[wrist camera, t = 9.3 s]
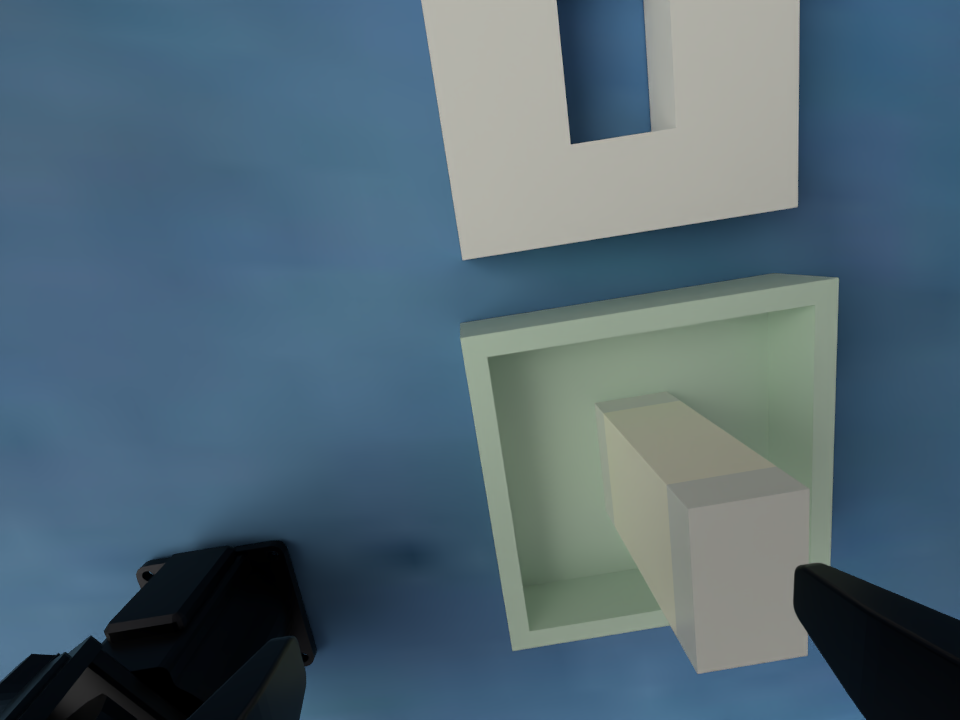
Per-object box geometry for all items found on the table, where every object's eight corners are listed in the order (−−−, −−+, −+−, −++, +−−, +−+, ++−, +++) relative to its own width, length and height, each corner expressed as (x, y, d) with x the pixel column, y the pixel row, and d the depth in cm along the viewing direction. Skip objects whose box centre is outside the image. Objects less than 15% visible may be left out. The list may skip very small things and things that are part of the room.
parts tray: (775, 548, 22) (829, 599, 19) (504, 592, 22) (512, 650, 19) (774, 273, 19) (838, 277, 16) (460, 323, 19) (460, 338, 16)
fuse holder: (761, 211, 18) (797, 206, 16) (462, 259, 18) (462, 260, 16) (758, -160, 15) (801, -219, 14) (404, -105, 15) (396, -156, 13)
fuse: (673, 499, 20) (807, 655, 12) (605, 510, 20) (697, 674, 12) (666, 391, 19) (809, 488, 11) (594, 403, 19) (688, 509, 11)
